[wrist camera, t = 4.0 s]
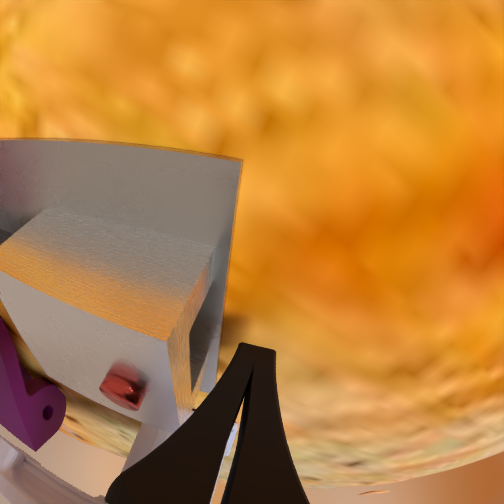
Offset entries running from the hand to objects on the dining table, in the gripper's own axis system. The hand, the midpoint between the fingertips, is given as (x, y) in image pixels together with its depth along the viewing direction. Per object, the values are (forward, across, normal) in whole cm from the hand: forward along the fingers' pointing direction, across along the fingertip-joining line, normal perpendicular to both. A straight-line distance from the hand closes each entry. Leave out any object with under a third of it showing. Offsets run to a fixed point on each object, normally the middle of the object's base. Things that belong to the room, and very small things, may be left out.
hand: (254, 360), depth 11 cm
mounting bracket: (+2, +27, +19) cm, 33 cm away
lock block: (+1, +6, 0) cm, 6 cm away
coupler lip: (+2, +14, 0) cm, 14 cm away
